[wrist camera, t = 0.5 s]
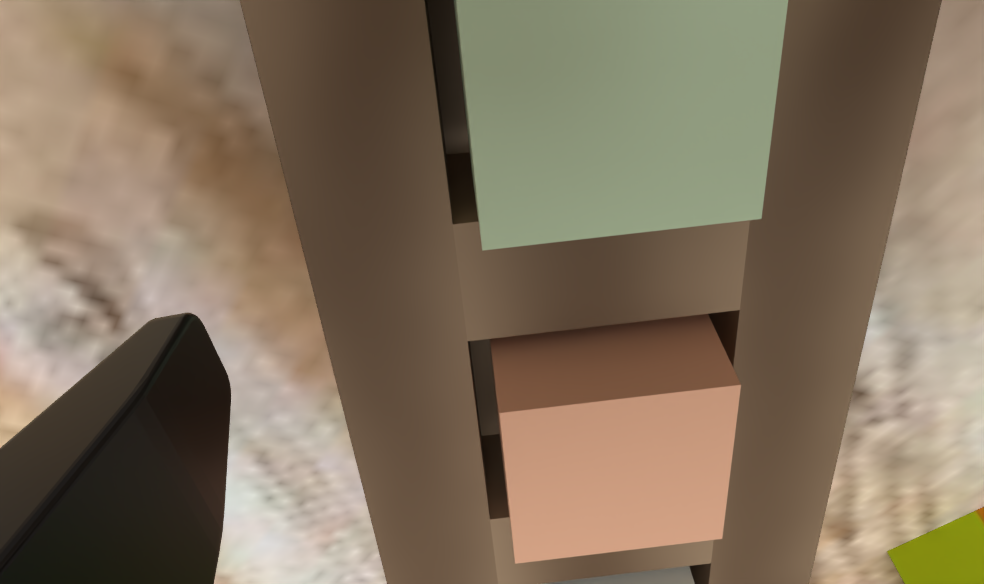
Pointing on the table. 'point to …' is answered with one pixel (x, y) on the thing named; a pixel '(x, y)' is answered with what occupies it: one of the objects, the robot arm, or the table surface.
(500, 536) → the key console
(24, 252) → the table surface
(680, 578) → the white square block
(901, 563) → the puzzle toy
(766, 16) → the pale green square block
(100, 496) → the robot arm
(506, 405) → the terracotta key
